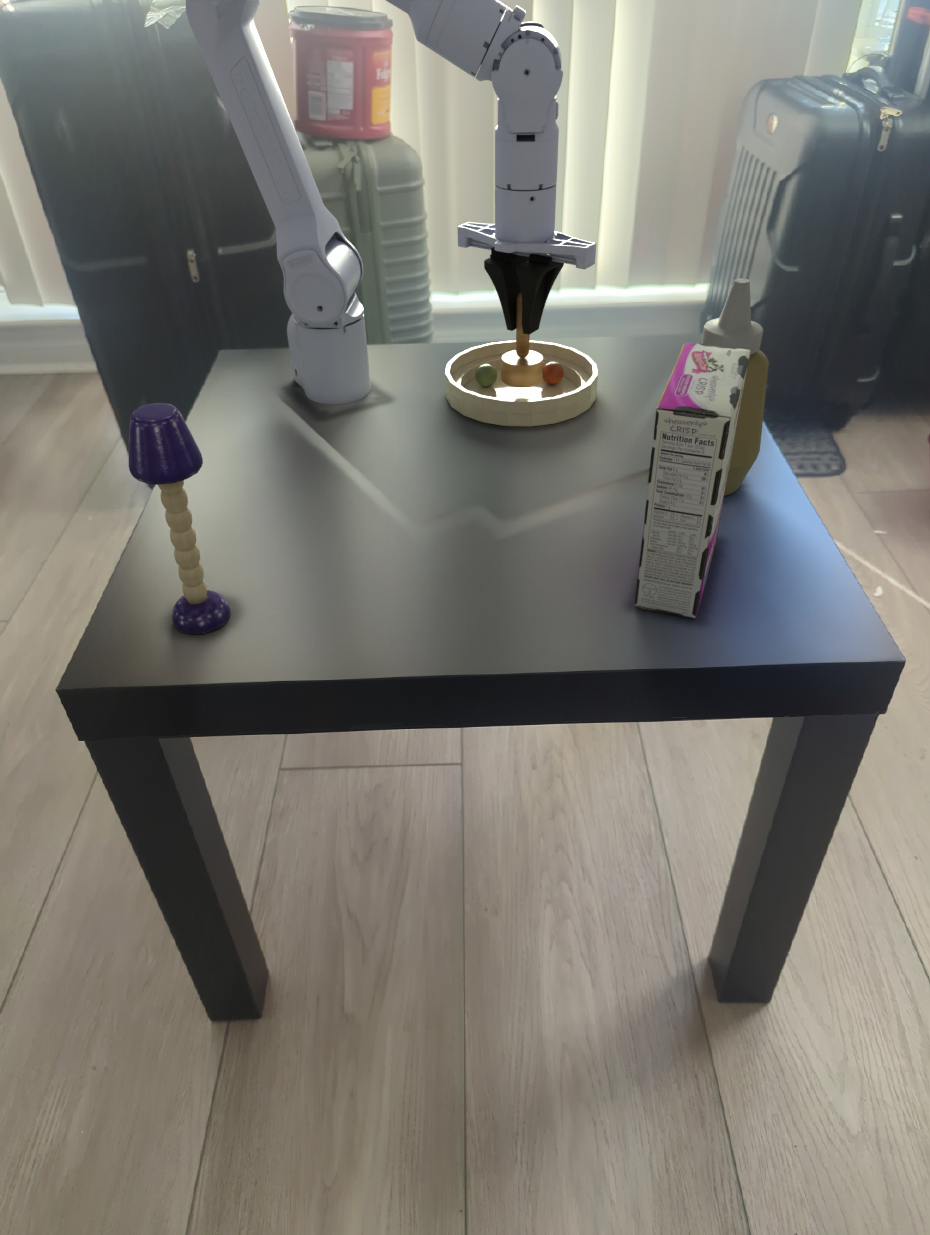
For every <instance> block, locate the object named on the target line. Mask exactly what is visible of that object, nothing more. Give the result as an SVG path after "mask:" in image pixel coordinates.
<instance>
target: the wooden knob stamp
mask: <svg viewBox="0 0 930 1235" xmlns="http://www.w3.org/2000/svg"><path fill="white" fill-rule="evenodd" d="M530 337H531V334H530V335H528V334H523V329H522V295H521V292H520V293H519V294H518V295H517V315H516V329H515V341H516V350H514V351H510V352H507V353H505V354H504V355H503V356H502V358H501V380H502V382H503V383H505V384H506V385H509V386H512V387H519V388H525V387H532V386H536V385H538V384H540V383H541V382H542V380H543V356H542V355H541V354H540V353H538V352H535V351H531V350H529V345H530V341H531V338H530Z"/></svg>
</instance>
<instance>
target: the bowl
mask: <svg viewBox="0 0 930 1235" xmlns="http://www.w3.org/2000/svg"><path fill="white" fill-rule="evenodd" d="M514 350H516V340H504V341H495V342H488V343H485V344H481V345H477V346H473V347H469V348H468V349H465V350H464V351H462V352H459V353H457V354H456V355H454V356H453V357H452V358H451V359H450V360H449V361H448V362H447V363H446V366H445V371H444V387H445V390H444V392H445V398H446V400H447V402H448V404H449V405H450V407H451V408H452V409H454V410H455V411H456V412H458V413H459V414H461V415H462V416H464V417H466V418H469V419H472V420H475V421H478V422H480V423H484V424H489V425H490V424H491V425H496V426H503V427H539V426H547V425H553V424H554V425H555V424H558V423H561V422H564V421H568V420H571V419H574V418H577V417H578V416H580V415H581V414H583V413H585V412H587V411H588V410H589V409H590V408H591V407H592V405H593V404H594V402H595V401H596V399H597V392H598V391H597V389H598V379H599V374H598V365H597V363H596V362H595V361H594V360H593V359H592V358H591V357H590V356H589V355H588V354H585V353H583V352H582V351H579V350H578V349H576V348H574V347H570V346H567V345H562V344H559V343H555V342H548V341H541V340H530V345H529V350H531V351H535V352H538V353H540V354H541V355H542V356H543V367H544V366H545V365H546V364H547V363H549V362H557V363H559V364H560V365H561V366H562V368H563V370H564V375H563V378H562V380H561V381H560V382H559V383H557V384H554V385H550V384H548V383H546V382H545V381H544V380H542V382H541V383H540V384H538V385H536V386H532V387H525V388H519V387H512V386H509V385H506V384H505V383H503V382H502V380H501V358H502V356H503V355H504V354H505V353H507V352H510V351H514ZM483 364H489V365H492V366H493V367H494V368H495V369H496V372H497V379H496V381H495V383H494V384H493V385H491V386H489V387H483V386H481V385H479V384H478V383H477V381H476V379H475V372H476V370H477V368H478V367H479V366H481V365H483Z"/></svg>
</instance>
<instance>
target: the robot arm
mask: <svg viewBox="0 0 930 1235" xmlns="http://www.w3.org/2000/svg"><path fill="white" fill-rule="evenodd" d="M385 1H386V2H387V3H389V4H391V5H392V6H394V7H396V8H397V9H399V10H400V11H402V12H404V13H406V14H407V15H408V18H409V19H410V21H411V26H412V29H413V33H414V36H415V39H416V41H417V42H418V43H420V44H421V45H423V46H425V47H426V48H428V49H430V50H431V51H432V52H434V53H435V54H437V55H439V56H440V57H442V58H443V59H444V60H446V61H448V62H449V63H451V64H452V65H454V66H455V67H457V68H458V69H460V70H462V71H463V72H465V73H466V74H468V75H469V76H471V77H472V78H474V79H475V80H476V81H479V82H483V81H488V82H489V81H490V82H491V84H492V88H493V90H494V93H495V95H496V97H497V125H496V126H495V129H494V223H482V222H471V221H468V222H465V223H462V224H460V225H458V226H457V247H459V248H463V249H464V248H465V249H466V248H467V249H468V248H470V247H472V248H476V249H477V248H478V249H484V250H488V251H490V254H489V257H488V258H485V259H484V261H483V267H484V268H483V269H484V270H485V272H486V273H487V275H488V277H489V279H490V280H491V282H492V285H493V287H494V288H495V291H496V294H497V297H498V300H499V303H500V306H501V309H502V313H503V317H504V322H505V327H506V330H507V331H510V332H513V331H516V315H517V295H518V294H519V293H520V292H521V295H522V329H523V334H528V335H530V336H531V334H533V333H535V332H536V331H538V330H540V326H541V322H542V316H543V314H544V310H545V307H546V304H547V300H548V298H549V295H550V293H551V291H552V288H553V286H554V284H555V282H556V280H557V278H558V277H559V274H560V272H561V271H562V270H563V267H564V266H565V264H566V265H572V266H575V268H576V269H580V270H587V269H588V268H590V267H592V266H594V265H596V255H597V242H593V241H587V240H584V239H580V238H578V237H576V236H572V235H569V234H566V233H563V232H560V231H557V230H556V229H555V228H556V209H557V208H556V206H557V205H556V204H557V185H558V184H557V181H558V164H559V162H558V160H559V136H560V135H559V134H560V129H559V128H560V127H559V126H558V123H557V120H558V117H559V108H560V105H559V101H558V100H557V99H558V98H557V97H558V92H559V91H560V89H561V85H562V82H563V77H564V71H563V70H562V63H563V62H562V53H561V49H560V46H559V44H558V42H557V40H556V39H555V37H554V36H553V35H552V34H551V32H550V31H548V30H546V28H545V27H544V25H543V23H540V22H539V21H538V22H537V21H524V19H525V18H526V15H527V11H526V10H525V9H523V8H522V7H520V6H519V5H515V7H514V9H512V8H510V7H508V5H506V4H504V3H503V2H502V1H500V0H385ZM260 3H261V0H185V13H186V17H187V21H188V24H189V26H190V29H191V31H192V34H193V36H194V38H195V41H196V44H197V45H198V47H199V50H200V52H201V54H202V57H203V59H204V62H205V64H206V67H207V69H208V71H209V74H210V77H211V78H212V80H213V83H214V85H215V88H216V90H217V92H218V94H219V97H220V100H221V101H222V104H223V107H224V109H225V112H226V113H227V116H228V119H229V121H230V123H231V126H232V129H233V130H234V133H235V135H236V137H237V140H238V142H239V144H240V147H241V149H242V151H243V154H244V157H245V158H246V161H247V163H248V166H249V168H250V171H251V172H252V175H253V177H254V180H255V183H256V185H257V187H258V189H259V193H260V194H261V196H262V199H263V201H264V203H265V206H266V208H267V211H268V213H269V216H270V218H271V220H272V223H273V225H274V227H275V233H276V236H275V238H276V259H277V262H278V263H279V266H280V268H281V270H282V276H283V297H284V300H285V303H286V305H287V308H288V309H289V310H290V312H291V315H290V316H289V319H288V321H287V326H286V336H287V342H288V343H287V344H288V349H289V356H290V363H291V367H292V368H291V369H292V374H293V381H295V383H297V384H298V385H299V386H300V387H301V388H302V389H303V390H304V394H305V397H307V399H309V400H310V401H312V402H315V403H319V404H323V405H342V404H349V403H354V402H357V401H359V400H361V399H364V398H365V397H366V396H368V395H369V394H370V392H371V391H372V382H371V373H370V362H369V352H368V343H367V342H368V340H367V330H366V321H365V320H366V319H365V311H364V310H365V309H364V306H363V304H362V303H361V301H360V299H359V298H358V296H357V294H356V291H357V290H358V288H359V287H360V286H361V284H362V281H363V277H364V263H363V259H362V257H361V256H362V255H361V254H360V252H359V251H358V250H357V248H356V246H354V245H353V244H352V243H351V242H350V241H349V240H348V238H346V236H345V234H344V233H343V231H342V229H341V226H340V224H339V221H338V219H337V218H336V217H335V216H334V214H333V213H331V212H330V211H329V209H328V208H327V207H326V206H325V204H324V201H323V198H322V195H321V193H320V191H319V188H318V185H317V183H316V181H315V178H314V176H313V173H312V170H311V167H310V165H309V162H308V159H307V157H306V155H305V151H304V148H303V147H302V144H301V142H300V139H299V136H298V133H297V131H296V129H295V125H294V123H293V121H292V118H291V115H290V113H289V111H288V107H287V105H286V103H285V100H284V98H283V95H282V92H281V90H280V87H279V85H278V83H277V82H278V81H277V79H276V77H275V74H274V71H273V68H272V67H271V64H270V61H269V58H268V56H267V53H266V51H265V48H264V46H263V42H262V40H261V37H260V35H259V32H258V30H257V27H256V24H255V17H256V14H257V11H258V8H259V6H260Z"/></svg>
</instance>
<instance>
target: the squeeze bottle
mask: <svg viewBox="0 0 930 1235" xmlns="http://www.w3.org/2000/svg"><path fill="white" fill-rule="evenodd" d="M763 334H764V328H763V326H762V325H761V324H760V323H758V322H756V321H754V320H752V309H751V281H750V279H748V278H744V277H738V278H735V279H734V280H733V283H732V285H731V287H730V290H729V293H728V295H727V298H726V300H725V303H724V305H723V307H722V310H721V313H720V315H719V317H716V318H713V319H712V318H711V319H709V320H707V322H706V323H705V324H704V326H703V331H702V336H701V341H700V342H701V343H700V344H704V345H705V346H709V345H713V346H723V347H728V348H737V349H747V350H750V356H749V362H748V366H747V371H746V377H745V382H744V388H743V393H742V398H741V404H740V409H739V416H738V421H737V427H736V432H735V437H734V443H733V448H732V454H731V460H730V465H729V470H728V476H727V481H726V487H725V493H724V497H726V496H729V495H731V494H733V493H734V492H736V491H738V490H739V488H740V487H741V484H742V483H743V481H744V480H745V478H746V476H747V474H748V473H749V472H750V470H751V468H752V467H753V465H754V463H755V462H756V460H757V459H758V457H759V454H760V451H761V444H762V432H763V424H764V423H763V422H764V416H765V415H764V414H765V405H766V404H765V403H766V393H767V385H768V374H769V367H770V366H769V365H770V361H769V359H768V357H767V356H766V354H765V353H764V352H763V351H762V350H760V349H761V344H762V340H763Z"/></svg>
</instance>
